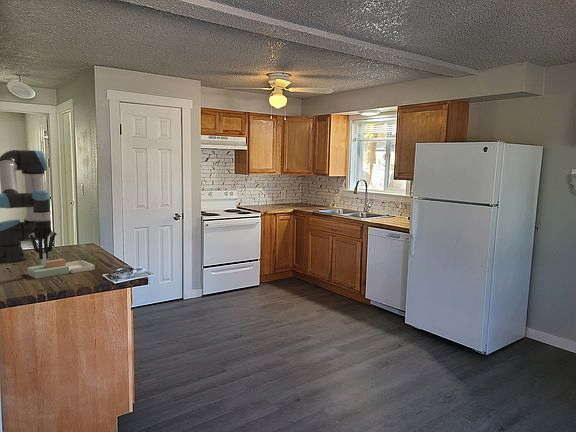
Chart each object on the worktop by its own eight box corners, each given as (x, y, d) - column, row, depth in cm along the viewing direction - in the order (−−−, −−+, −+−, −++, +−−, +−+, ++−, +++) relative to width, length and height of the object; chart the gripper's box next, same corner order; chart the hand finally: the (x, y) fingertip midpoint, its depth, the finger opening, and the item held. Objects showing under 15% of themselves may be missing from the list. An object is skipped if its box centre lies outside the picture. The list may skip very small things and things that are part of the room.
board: (27, 273, 227) (26, 267, 227) (59, 268, 239) (59, 262, 238) (36, 278, 218) (35, 272, 218) (69, 273, 230) (68, 266, 230)
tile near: (44, 266, 229) (43, 261, 228) (53, 265, 232) (53, 259, 232) (47, 268, 226) (47, 262, 225) (56, 266, 229) (56, 261, 229)
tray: (59, 268, 240) (59, 263, 240) (82, 264, 249) (82, 260, 249) (71, 273, 229) (70, 269, 229) (94, 269, 239) (94, 265, 238)
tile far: (53, 265, 232) (53, 259, 232) (62, 264, 235) (62, 258, 235) (56, 266, 229) (56, 261, 229) (65, 265, 232) (65, 259, 232)
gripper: (30, 222, 216) (32, 268, 219) (58, 220, 226) (60, 264, 229) (25, 220, 221) (27, 265, 224) (52, 218, 231) (54, 261, 234)
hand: (44, 265), depth 227 cm, fingers closed
